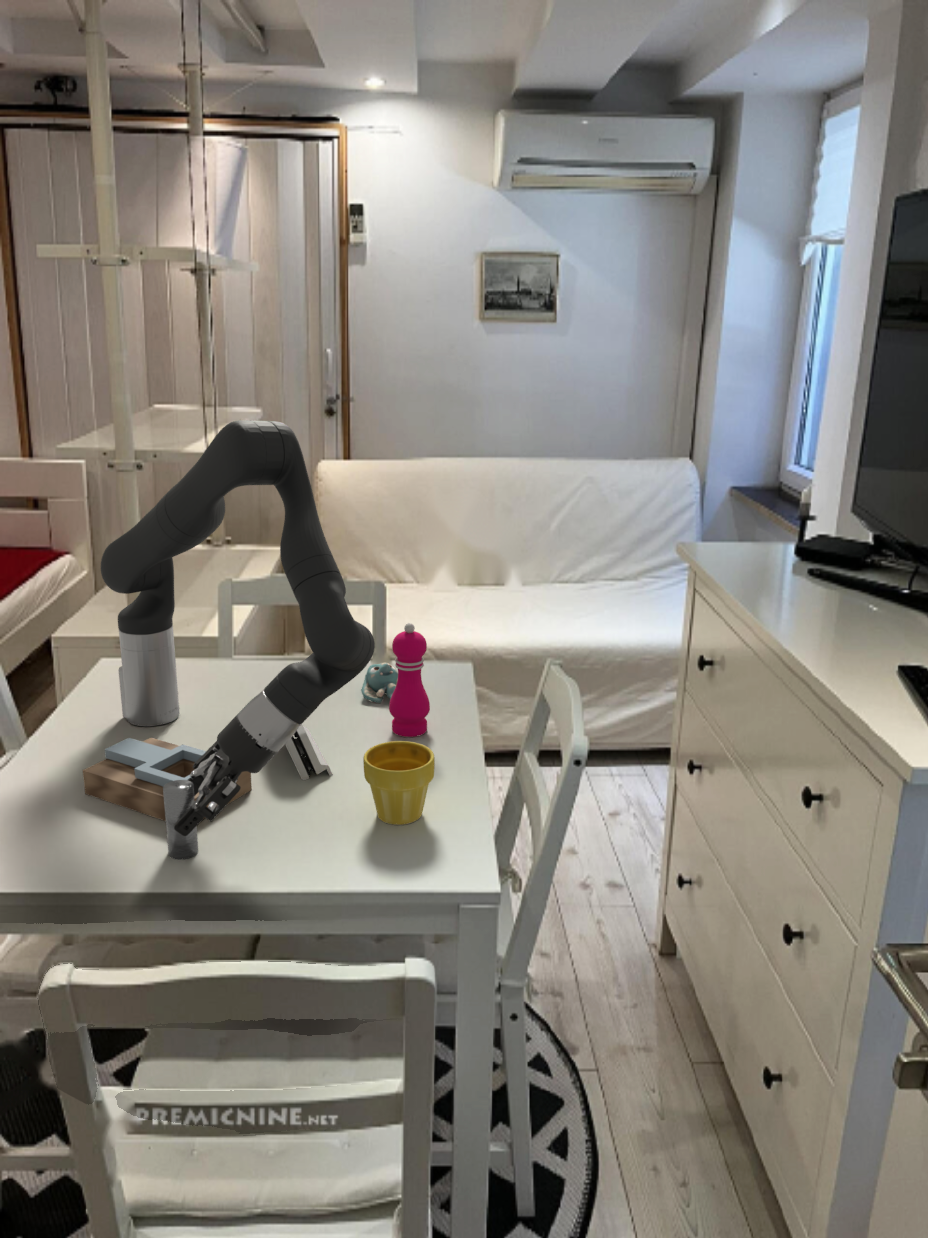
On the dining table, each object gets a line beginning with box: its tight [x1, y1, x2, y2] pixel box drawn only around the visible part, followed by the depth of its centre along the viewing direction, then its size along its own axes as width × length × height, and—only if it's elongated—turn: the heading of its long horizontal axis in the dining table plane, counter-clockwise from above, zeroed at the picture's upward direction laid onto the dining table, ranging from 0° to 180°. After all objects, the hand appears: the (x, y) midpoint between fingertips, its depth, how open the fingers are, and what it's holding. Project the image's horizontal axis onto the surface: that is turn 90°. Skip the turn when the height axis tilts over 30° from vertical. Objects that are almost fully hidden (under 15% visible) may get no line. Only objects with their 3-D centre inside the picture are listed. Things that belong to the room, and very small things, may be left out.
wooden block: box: [82, 737, 253, 822], centre depth 155 cm, size 21×14×4 cm, turn 61°
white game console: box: [284, 723, 334, 781], centre depth 167 cm, size 17×5×10 cm, turn 21°
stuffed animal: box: [360, 662, 398, 704], centre depth 193 cm, size 11×7×12 cm
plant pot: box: [362, 740, 436, 826], centre depth 148 cm, size 10×10×10 cm
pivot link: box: [104, 737, 207, 786], centre depth 154 cm, size 19×10×2 cm, turn 61°
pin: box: [163, 780, 199, 860], centre depth 137 cm, size 4×4×10 cm
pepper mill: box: [388, 622, 431, 738], centre depth 176 cm, size 7×7×20 cm
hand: (178, 816), depth 137 cm, fingers open, 8 cm apart
